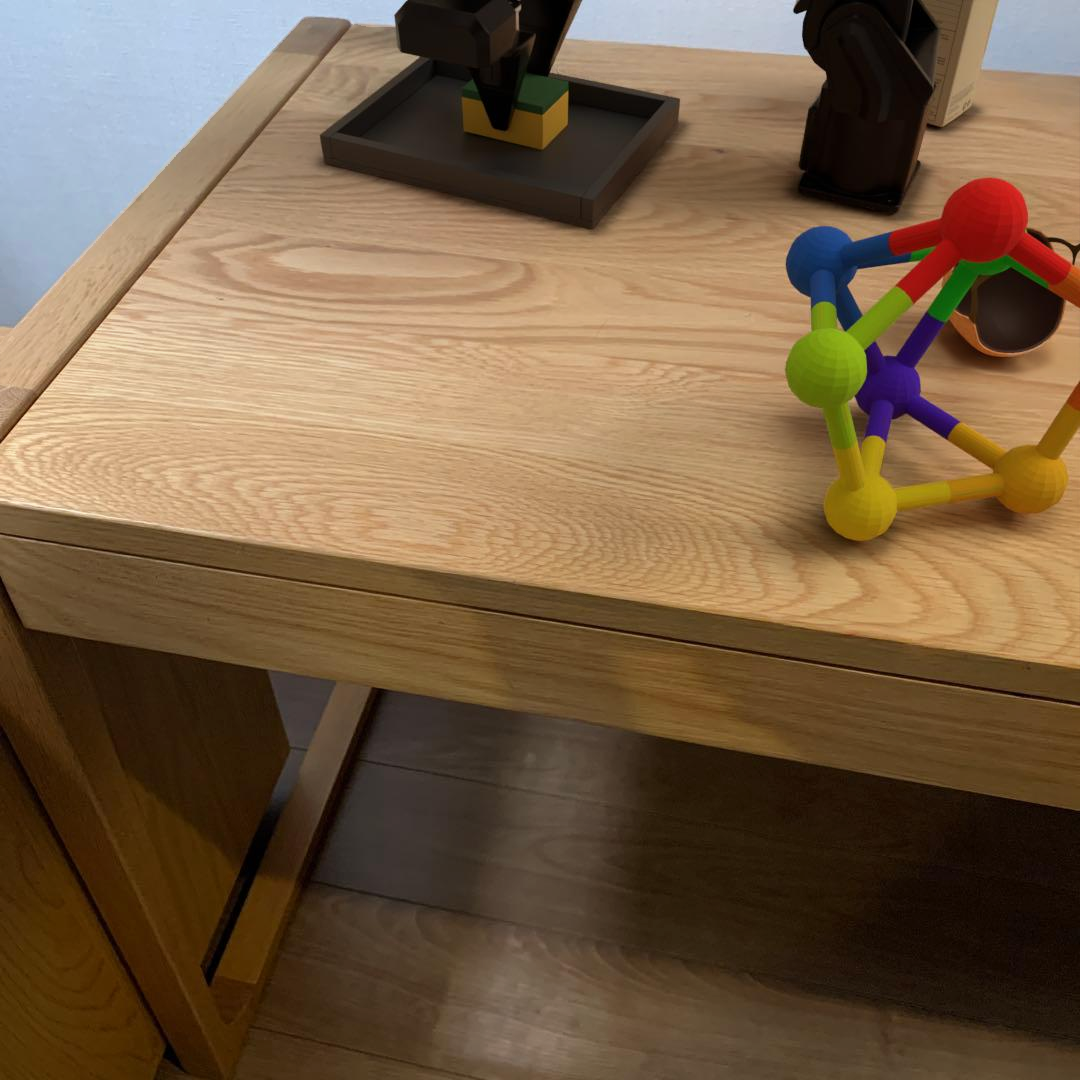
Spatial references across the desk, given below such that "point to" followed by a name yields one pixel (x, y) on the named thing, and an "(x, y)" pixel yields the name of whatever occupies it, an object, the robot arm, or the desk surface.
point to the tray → (503, 144)
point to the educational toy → (918, 355)
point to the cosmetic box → (958, 53)
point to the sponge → (522, 112)
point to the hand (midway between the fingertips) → (515, 115)
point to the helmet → (1010, 309)
